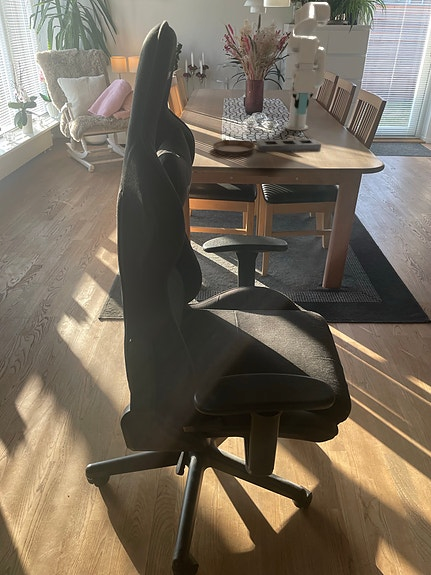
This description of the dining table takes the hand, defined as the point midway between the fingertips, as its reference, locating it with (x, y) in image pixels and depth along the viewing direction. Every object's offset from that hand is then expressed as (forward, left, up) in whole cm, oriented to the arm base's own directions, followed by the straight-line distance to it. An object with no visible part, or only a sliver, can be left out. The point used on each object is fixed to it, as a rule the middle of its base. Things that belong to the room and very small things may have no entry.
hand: (301, 107), depth 227 cm
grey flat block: (+7, -7, -18) cm, 20 cm away
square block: (0, 0, -3) cm, 3 cm away
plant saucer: (+9, -35, -18) cm, 41 cm away
